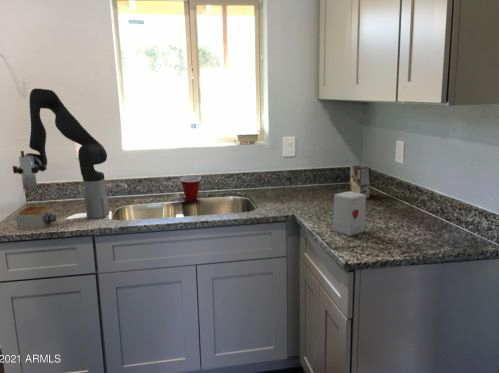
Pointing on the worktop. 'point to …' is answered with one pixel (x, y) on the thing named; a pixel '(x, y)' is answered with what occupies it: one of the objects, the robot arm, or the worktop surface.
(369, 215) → the worktop surface
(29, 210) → the gearbox
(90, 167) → the robot arm
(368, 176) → the coffee box
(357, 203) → the supplement box
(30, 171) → the moka pot
